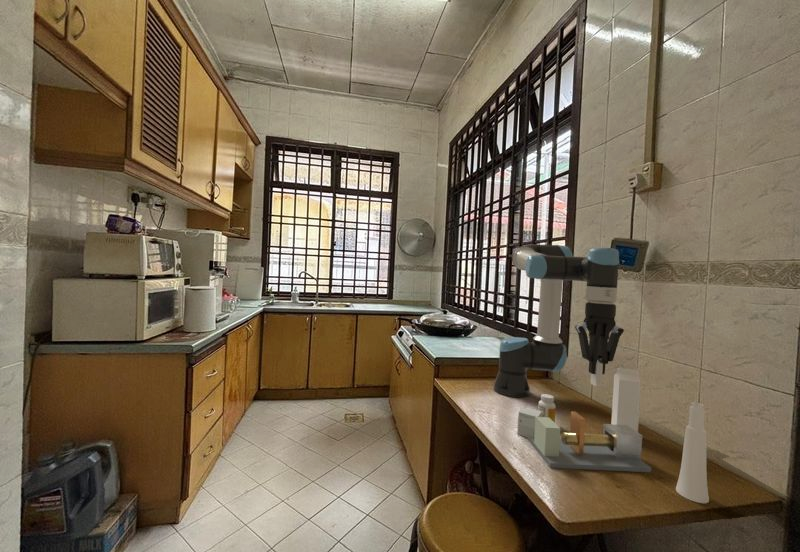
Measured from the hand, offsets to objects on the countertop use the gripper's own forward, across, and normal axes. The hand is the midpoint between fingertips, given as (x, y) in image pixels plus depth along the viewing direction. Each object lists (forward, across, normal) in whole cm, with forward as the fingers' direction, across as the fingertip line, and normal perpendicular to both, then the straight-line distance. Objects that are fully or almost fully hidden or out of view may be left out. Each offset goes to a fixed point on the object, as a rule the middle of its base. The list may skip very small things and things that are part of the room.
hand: (595, 385), depth 96 cm
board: (+20, -2, 0) cm, 20 cm away
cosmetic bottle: (+21, +15, -16) cm, 30 cm away
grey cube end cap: (+19, +8, 0) cm, 21 cm away
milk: (+21, +19, +14) cm, 31 cm away
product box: (+21, -13, +12) cm, 27 cm away
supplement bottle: (+21, -4, +20) cm, 29 cm away
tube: (+19, +2, 0) cm, 19 cm away
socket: (+19, -13, 0) cm, 23 cm away
